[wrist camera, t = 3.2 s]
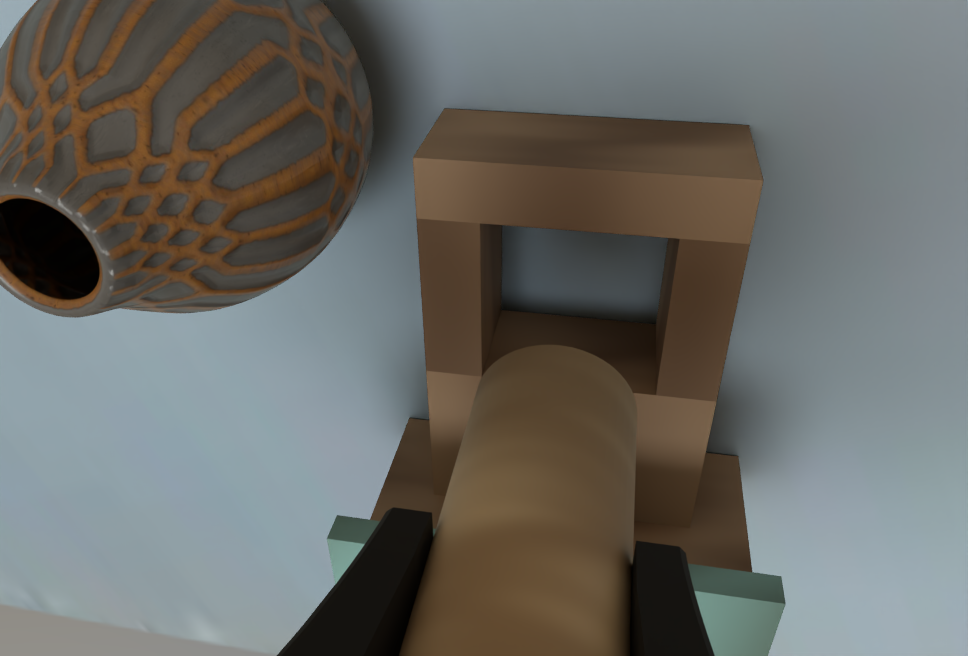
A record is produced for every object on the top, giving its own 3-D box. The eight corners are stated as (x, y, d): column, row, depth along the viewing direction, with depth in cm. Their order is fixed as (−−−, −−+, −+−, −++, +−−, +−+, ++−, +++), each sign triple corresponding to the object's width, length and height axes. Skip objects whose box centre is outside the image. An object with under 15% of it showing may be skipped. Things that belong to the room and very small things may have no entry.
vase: (88, -65, 18) (-283, 38, 11) (375, -97, 16) (164, -2, 9) (186, 210, 22) (-41, 419, 15) (425, 204, 20) (303, 433, 13)
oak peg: (648, 356, 13) (642, 885, 7) (626, 479, 15) (603, 993, 9) (477, 335, 14) (321, 817, 7) (474, 456, 16) (346, 934, 9)
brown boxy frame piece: (818, 129, 17) (893, 290, 12) (732, 480, 24) (755, 691, 18) (383, 105, 19) (271, 238, 13) (411, 441, 25) (342, 625, 20)
